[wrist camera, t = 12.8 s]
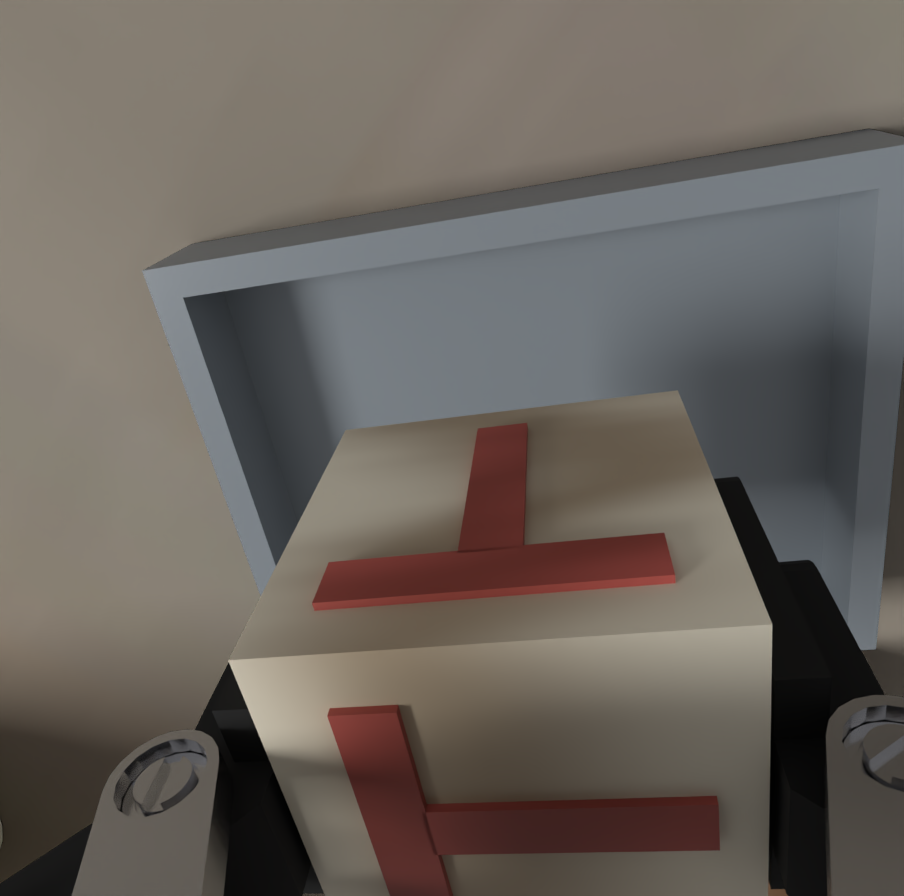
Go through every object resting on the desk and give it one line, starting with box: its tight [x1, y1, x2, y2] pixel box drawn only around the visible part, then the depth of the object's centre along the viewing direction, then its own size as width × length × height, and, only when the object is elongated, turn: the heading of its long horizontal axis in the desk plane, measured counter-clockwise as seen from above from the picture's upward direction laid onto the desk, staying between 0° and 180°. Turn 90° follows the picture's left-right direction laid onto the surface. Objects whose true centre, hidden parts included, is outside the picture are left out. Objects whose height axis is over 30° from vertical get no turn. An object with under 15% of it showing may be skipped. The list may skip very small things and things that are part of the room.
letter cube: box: [228, 390, 772, 896], centre depth 10 cm, size 5×5×5 cm
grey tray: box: [142, 129, 904, 650], centre depth 16 cm, size 13×10×2 cm
